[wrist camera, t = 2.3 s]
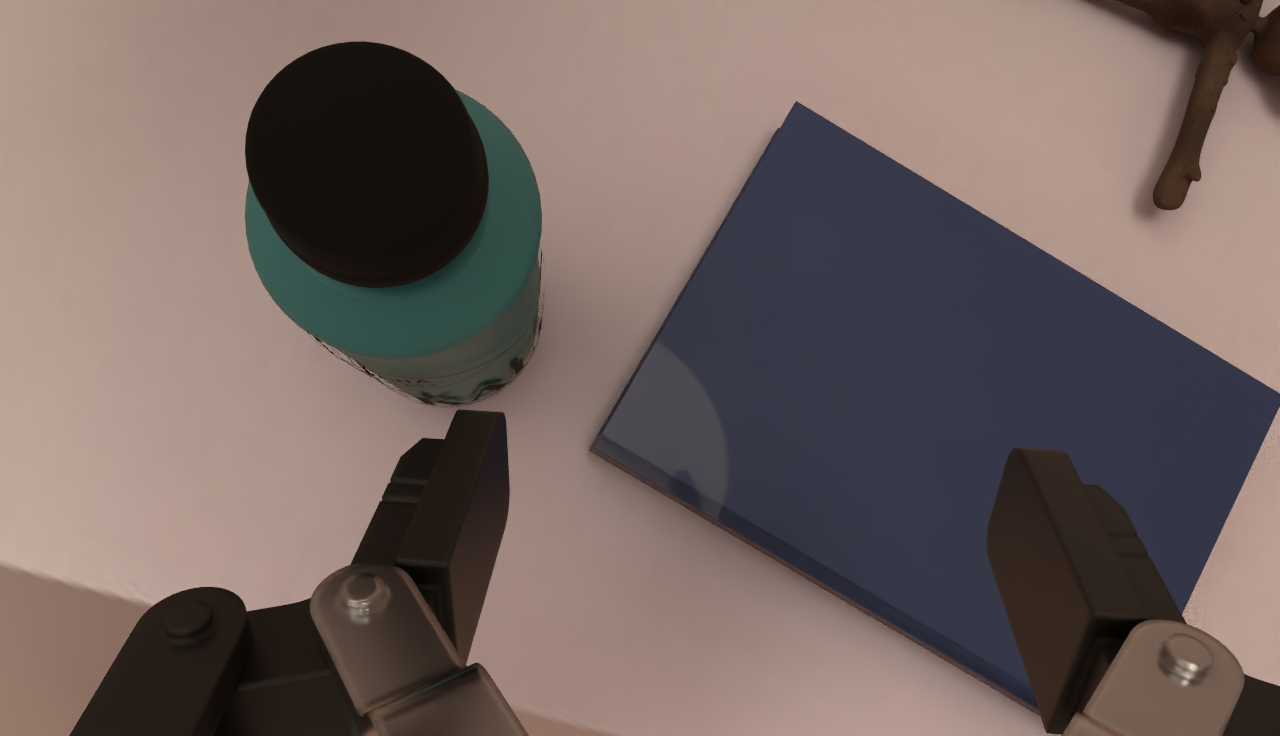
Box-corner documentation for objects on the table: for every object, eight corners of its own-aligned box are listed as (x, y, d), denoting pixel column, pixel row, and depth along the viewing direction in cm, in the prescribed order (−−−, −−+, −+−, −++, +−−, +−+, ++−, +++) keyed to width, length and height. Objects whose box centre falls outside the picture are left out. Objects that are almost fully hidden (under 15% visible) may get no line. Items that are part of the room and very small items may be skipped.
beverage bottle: (379, 227, 36) (182, -78, 16) (557, 253, 37) (576, -10, 17) (350, 400, 35) (106, 302, 15) (532, 424, 36) (521, 360, 16)
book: (588, 450, 36) (592, 447, 33) (776, 130, 38) (796, 100, 35) (1069, 733, 36) (1116, 755, 34) (1228, 402, 39) (1285, 396, 36)
